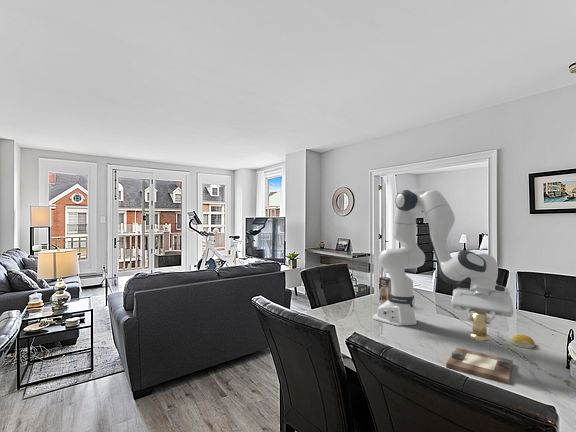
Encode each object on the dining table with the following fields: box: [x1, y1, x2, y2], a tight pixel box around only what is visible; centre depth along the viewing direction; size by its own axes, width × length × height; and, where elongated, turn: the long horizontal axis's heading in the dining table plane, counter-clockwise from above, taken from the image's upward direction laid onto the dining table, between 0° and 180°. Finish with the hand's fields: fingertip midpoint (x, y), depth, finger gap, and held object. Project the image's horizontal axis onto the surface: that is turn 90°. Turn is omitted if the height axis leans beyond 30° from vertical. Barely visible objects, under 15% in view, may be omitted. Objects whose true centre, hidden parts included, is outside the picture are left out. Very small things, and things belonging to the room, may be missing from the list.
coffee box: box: [378, 276, 391, 304], centre depth 204 cm, size 9×6×16 cm
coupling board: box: [445, 347, 514, 385], centre depth 117 cm, size 19×18×3 cm
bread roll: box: [510, 334, 536, 349], centre depth 137 cm, size 8×9×4 cm
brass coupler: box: [469, 311, 491, 342], centre depth 117 cm, size 6×6×9 cm
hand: (479, 321), depth 116 cm, fingers closed on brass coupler, 4 cm apart
